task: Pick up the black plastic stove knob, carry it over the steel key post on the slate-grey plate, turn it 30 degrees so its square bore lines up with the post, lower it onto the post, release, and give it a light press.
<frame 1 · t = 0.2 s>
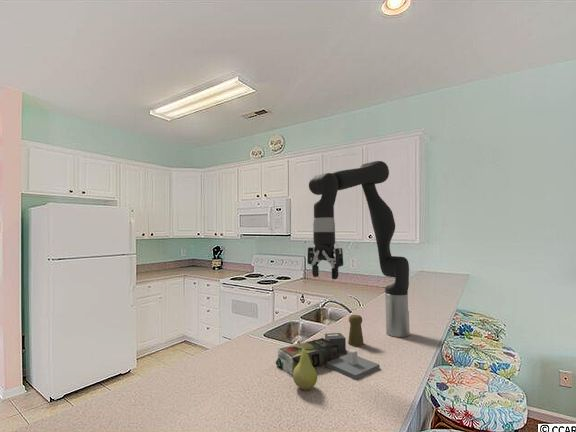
hand: (324, 277, 106), 28 cm above the countertop, fingers open, 8 cm apart
cork: (355, 344, 120), on the countertop
fruit: (304, 388, 86), on the countertop
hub: (352, 367, 99), on the countertop
knob: (335, 351, 113), on the countertop
juice carton: (307, 364, 102), on the countertop
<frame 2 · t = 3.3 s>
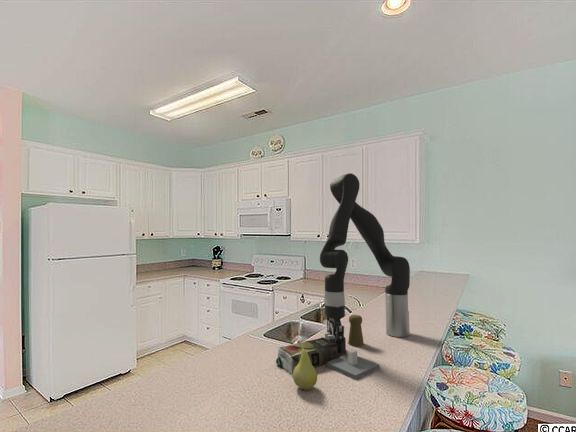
hand: (335, 349, 113), 1 cm above the countertop, fingers closed on knob, 6 cm apart
knob: (335, 351, 113), on the countertop, touching gripper
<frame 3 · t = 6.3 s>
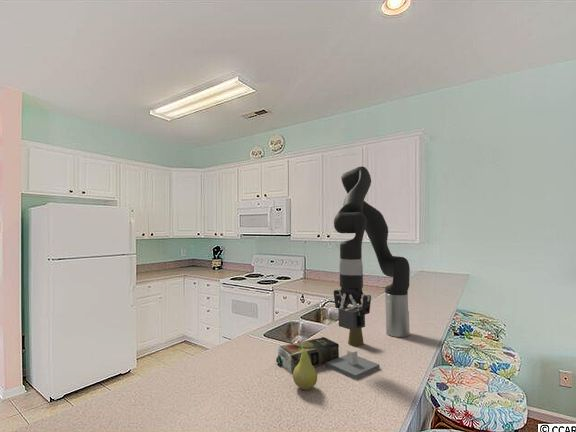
hand: (352, 324, 100), 14 cm above the countertop, fingers closed on knob, 6 cm apart
knob: (351, 326, 100), point 13 cm above the countertop, touching gripper
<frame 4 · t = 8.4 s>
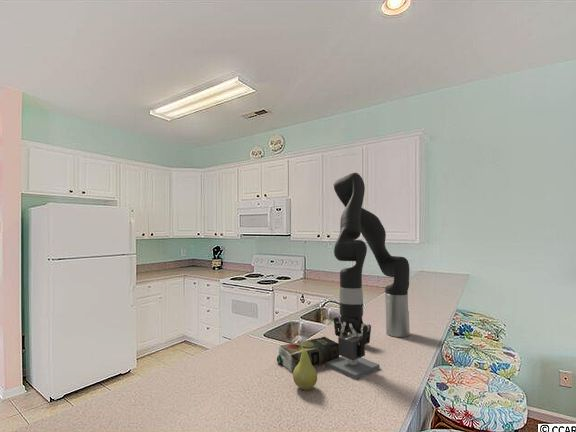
hand: (351, 353, 99), 4 cm above the countertop, fingers closed on knob, 6 cm apart
knob: (351, 355, 99), point 4 cm above the countertop, touching gripper
when the fingers open (3 cm above the countertop, at t = 9.7 s): knob drops 1 cm, resting on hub.
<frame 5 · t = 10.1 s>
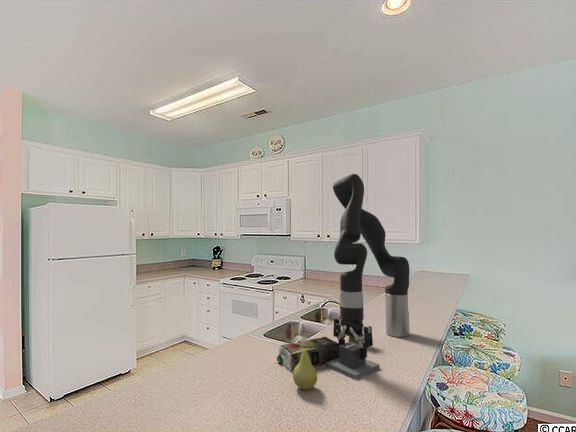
hand: (352, 355, 99), 4 cm above the countertop, fingers open, 8 cm apart
knob: (352, 363, 99), point 1 cm above the countertop, touching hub
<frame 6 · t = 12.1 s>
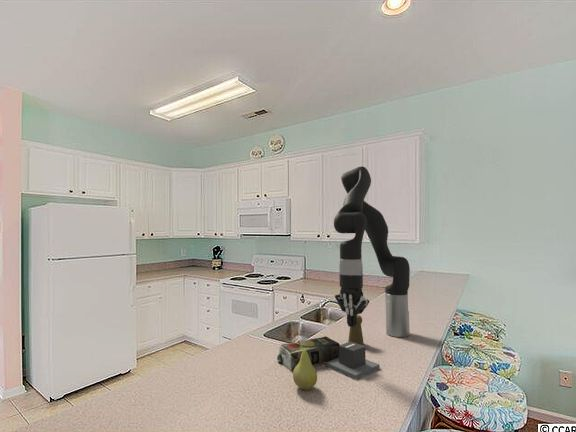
hand: (351, 326, 100), 13 cm above the countertop, fingers closed
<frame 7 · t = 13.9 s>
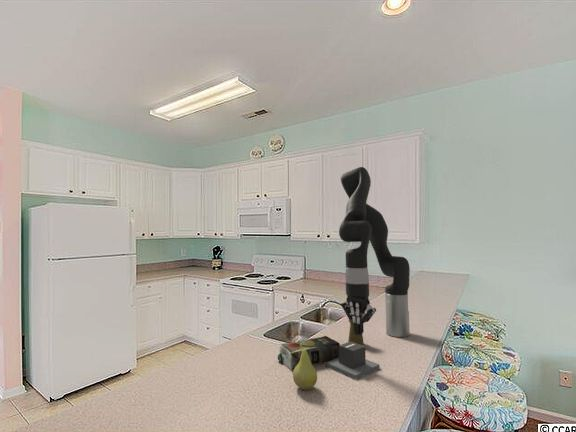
hand: (358, 334, 100), 10 cm above the countertop, fingers closed
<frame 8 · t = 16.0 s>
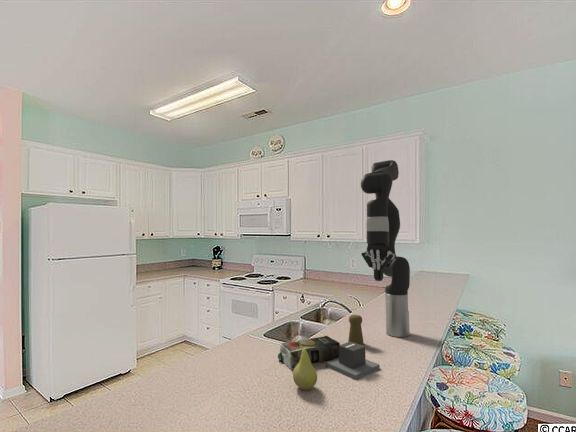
hand: (378, 280, 105), 27 cm above the countertop, fingers closed
at the end: knob 0.1 cm off-centre on the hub, point 1.2 cm above the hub's base; knob tilted 0°; the gripper is holding nothing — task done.
